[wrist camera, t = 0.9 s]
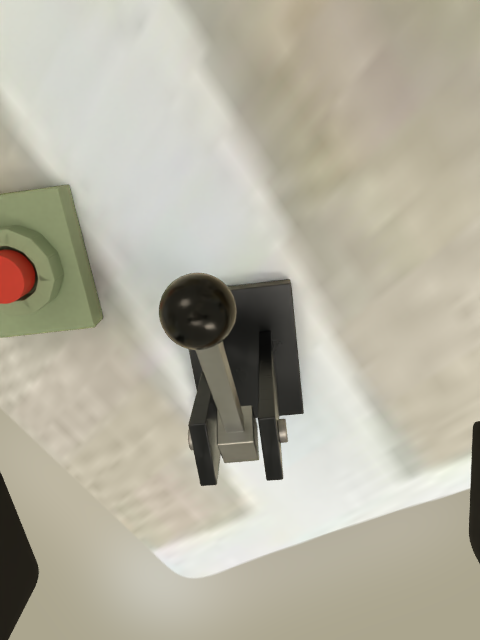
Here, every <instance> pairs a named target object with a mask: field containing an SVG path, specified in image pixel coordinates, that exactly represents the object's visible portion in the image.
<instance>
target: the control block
mask: <svg viewBox="0 0 480 640" xmlns="http://www.w3.org/2000/svg"><path fill="white" fill-rule="evenodd" d="M6 249H7V250H14V251H17V252H19V253H21V254H22V255H24V256H25V257H26V258H27V259H28V260H29V261H30V263H31V264H32V266H33V268H34V271H35V283H34V286H33V288H32V289H31V291H30V292H28V293H27V294H25V295H24V296H22V297H21V298H19V299H18V300H16V301H14V302H12V303H8V304H0V338H3V337H12V336H21V335H30V334H39V333H48V332H57V331H66V330H75V329H84V328H93V327H95V326H96V325H97V324H98V323H99V322H100V321H101V320H102V319H103V315H102V311H101V307H100V303H99V299H98V295H97V292H96V288H95V284H94V280H93V276H92V272H91V268H90V264H89V260H88V257H87V253H86V249H85V245H84V241H83V237H82V233H81V229H80V226H79V222H78V218H77V214H76V210H75V206H74V202H73V198H72V194H71V191H70V187H69V185H61V186H54V187H47V188H40V189H33V190H26V191H19V192H12V193H4V194H0V250H6Z"/></svg>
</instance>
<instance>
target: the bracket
mask: <svg viewBox="0 0 480 640" xmlns="http://www.w3.org/2000/svg"><path fill="white" fill-rule="evenodd" d="M228 288H229V289H230V291H231V293H232V295H233V296H234V299H235V303H236V310H237V311H236V320H235V324H234V326H233V328H232V330H231V332H230V334H229V335H228V336H227V337H226V338H225V339H224V340H223V341H222V342H223V346H224V349H225V353H226V356H227V360H228V363H229V367H230V370H231V374H232V377H233V381H234V384H235V388H236V391H237V395H238V399H239V402H240V406H250V405H251V406H252V407H253V411H254V415H255V418H258V422H259V429H260V437H261V444H262V451H263V458H264V465H265V472H266V479H267V480H281V479H283V468H282V453H281V443H283V442H288V438H287V428H286V420H285V419H279V416H282V415H293V414H303V413H304V412H303V401H302V391H301V381H300V371H299V360H298V350H297V340H296V329H295V319H294V309H293V299H292V288H291V281H290V279H288V280H280V281H271V282H263V283H254V284H245V285H237V286H228ZM189 352H190V358H191V363H192V368H193V373H194V379H195V384H196V389H197V394H196V398H195V401H194V405H193V409H192V413H191V417H190V421H189V425H188V426H189V432H188V442H189V447H190V449H191V450H194V455H195V460H196V465H197V470H198V474H199V479H200V484H201V486H206V485H216V484H217V479H218V471H219V463H220V455H221V453H220V451H219V449H218V446H217V407H216V404H215V402H214V399H213V396H212V393H211V391H210V388H209V385H208V383H207V380H206V377H205V375H204V372H203V369H202V367H201V364H200V361H199V358H198V356H197V353H196V350H192V349H189Z"/></svg>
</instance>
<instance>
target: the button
mask: <svg viewBox="0 0 480 640" xmlns="http://www.w3.org/2000/svg"><path fill="white" fill-rule="evenodd" d="M34 283H35V271H34V268H33V266H32V264H31V263H30V261H29V260H28V259H27V258H26V257H25V256H24V255H22V254H21V253H19V252H17V251H14V250H7V249H6V250H0V304H8V303H12V302H14V301H16V300H18V299H19V298H21V297H22V296H24V295H25V294H27V293H28V292H30V291H31V289H32V288H33V286H34Z"/></svg>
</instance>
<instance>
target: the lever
mask: <svg viewBox="0 0 480 640" xmlns="http://www.w3.org/2000/svg"><path fill="white" fill-rule="evenodd" d="M236 311H237V310H236V303H235V299H234V296H233V295H232V293H231V291H230V289H229V288H228V287H227V286H226V284H224V283H223V282H222V281H221V280H220V279H218V278H216V277H214V276H212V275H209V274H205V273H190V274H186V275H184V276H181V277H179V278H177V279H176V280H175V281H173V282H172V283H171V284H170V285H169V286H168V287H167V289H166V290H165V292H164V293H163V295H162V298H161V301H160V305H159V317H160V322H161V325H162V327H163V329H164V331H165V333H166V334H167V335H168V337H169V338H170V339H171V340H172V341H174V342H175V343H176V344H178V345H180V346H182V347H184V348H187V349H192V350H196V353H197V356H198V358H199V361H200V364H201V367H202V369H203V372H204V375H205V377H206V380H207V383H208V385H209V388H210V391H211V393H212V396H213V399H214V402H215V404H216V407H217V446H218V449H219V451H220V453H221V456H222V458H223V460H224V463H231V462H243V461H255V460H259V450H258V432H257V423H256V419H255V415H254V411H253V407H252V406H251V405H250V406H240V402H239V399H238V395H237V391H236V388H235V384H234V381H233V377H232V374H231V370H230V367H229V363H228V360H227V356H226V353H225V349H224V346H223V342H222V341H223V340H224V339H225V338H226V337H227V336H228V335H229V334H230V332H231V330H232V328H233V326H234V324H235V320H236Z"/></svg>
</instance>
